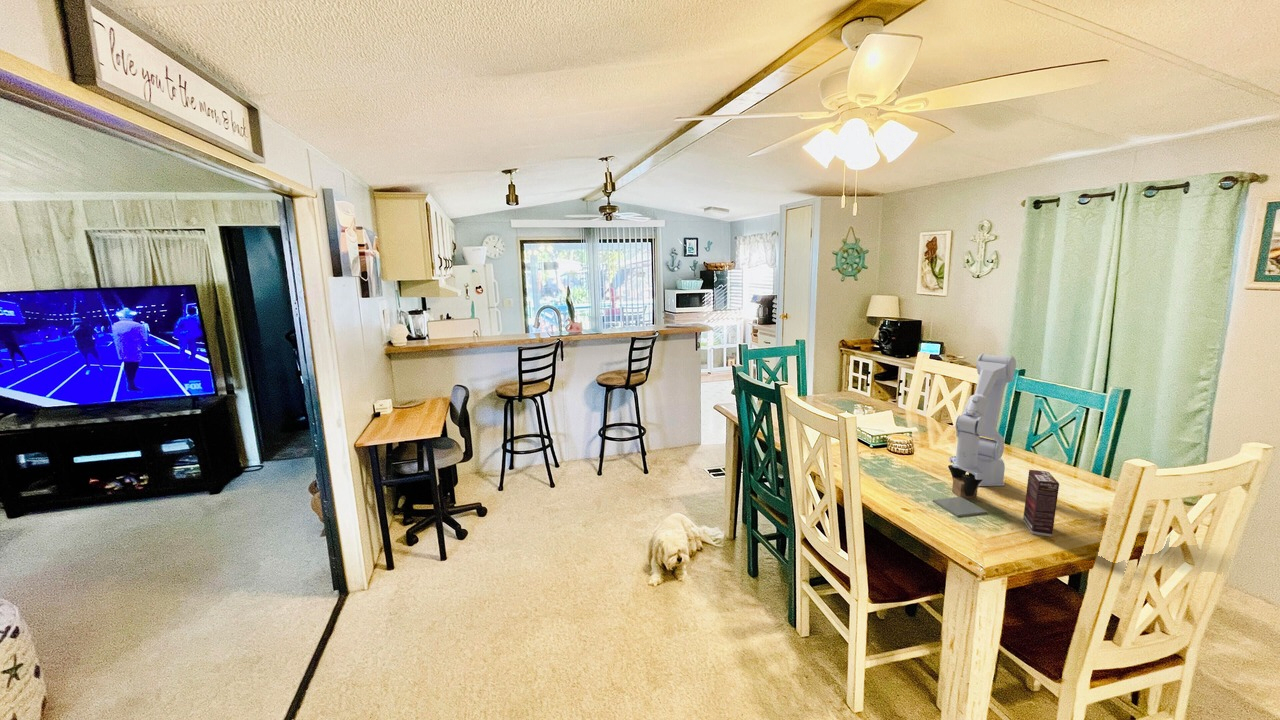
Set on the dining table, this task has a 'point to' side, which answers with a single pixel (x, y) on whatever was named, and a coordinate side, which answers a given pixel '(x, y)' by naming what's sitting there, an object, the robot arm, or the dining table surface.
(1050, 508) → the supplement box
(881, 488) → the dining table surface
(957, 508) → the slate coaster
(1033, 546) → the dining table surface
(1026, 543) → the dining table surface
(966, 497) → the walnut cube
